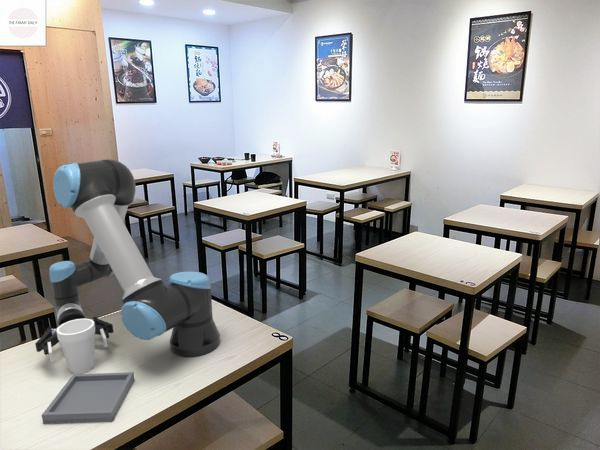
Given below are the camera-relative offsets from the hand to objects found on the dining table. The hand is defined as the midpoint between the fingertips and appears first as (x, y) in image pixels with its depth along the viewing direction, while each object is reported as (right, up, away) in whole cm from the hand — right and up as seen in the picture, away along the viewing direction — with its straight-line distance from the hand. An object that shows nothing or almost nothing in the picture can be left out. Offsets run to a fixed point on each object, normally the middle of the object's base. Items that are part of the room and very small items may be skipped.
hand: (79, 349), depth 120 cm
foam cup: (-1, -6, +4) cm, 7 cm away
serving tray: (+9, -10, -10) cm, 17 cm away
